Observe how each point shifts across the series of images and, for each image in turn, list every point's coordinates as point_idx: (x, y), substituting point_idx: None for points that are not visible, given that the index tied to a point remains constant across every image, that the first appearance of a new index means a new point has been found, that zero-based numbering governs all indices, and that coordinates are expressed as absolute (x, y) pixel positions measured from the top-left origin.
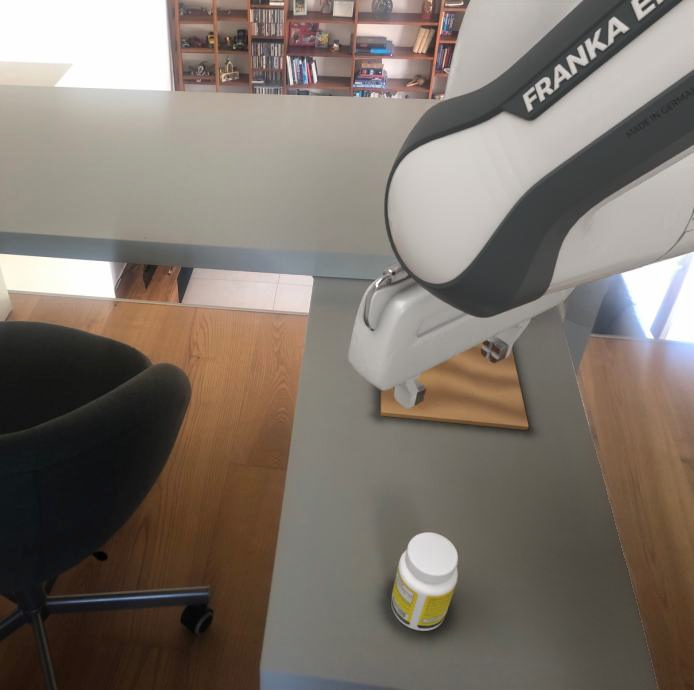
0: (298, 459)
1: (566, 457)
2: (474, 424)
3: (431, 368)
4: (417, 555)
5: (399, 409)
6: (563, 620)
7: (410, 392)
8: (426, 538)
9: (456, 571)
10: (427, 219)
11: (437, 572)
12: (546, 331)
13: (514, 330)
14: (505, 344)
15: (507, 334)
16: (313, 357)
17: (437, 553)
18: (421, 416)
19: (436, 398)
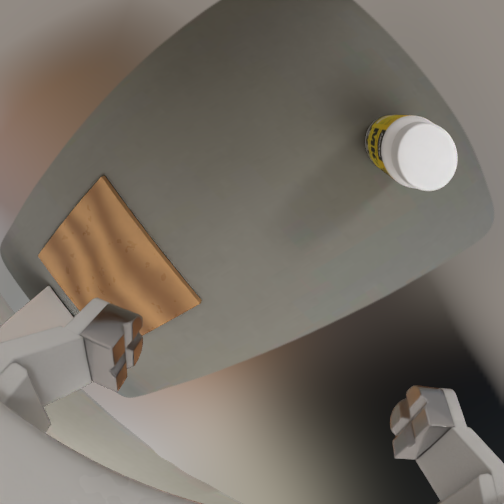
0: (312, 329)
1: (106, 126)
2: (137, 220)
3: (115, 292)
4: (443, 172)
5: (182, 291)
6: (297, 23)
7: (478, 437)
8: (415, 174)
9: (402, 121)
10: None
11: (449, 139)
12: (16, 231)
13: (41, 361)
14: (87, 344)
15: (63, 362)
16: (193, 376)
17: (425, 151)
18: (172, 269)
19: (141, 269)
